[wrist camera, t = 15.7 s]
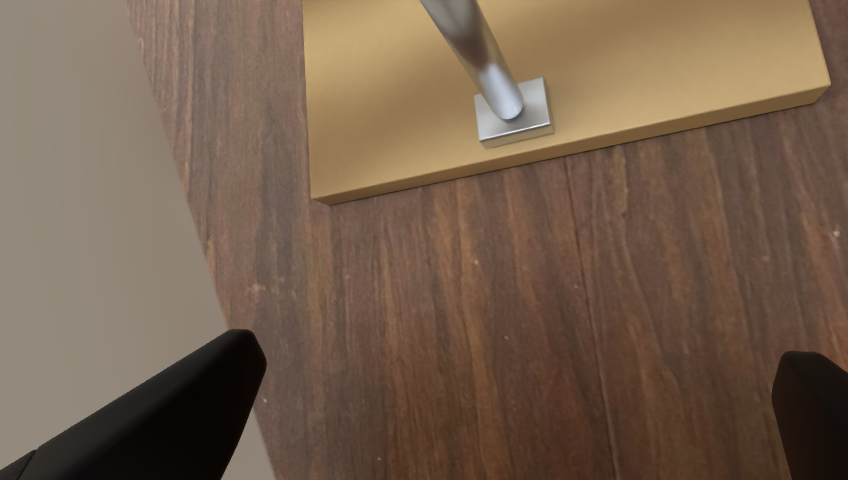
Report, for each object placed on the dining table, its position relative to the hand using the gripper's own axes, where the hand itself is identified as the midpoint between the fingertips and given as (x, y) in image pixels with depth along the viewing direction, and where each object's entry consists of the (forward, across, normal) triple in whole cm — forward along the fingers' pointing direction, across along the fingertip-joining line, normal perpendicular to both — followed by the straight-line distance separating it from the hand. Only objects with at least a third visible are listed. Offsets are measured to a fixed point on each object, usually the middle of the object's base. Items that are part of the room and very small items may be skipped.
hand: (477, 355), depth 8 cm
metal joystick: (+13, 0, 0) cm, 13 cm away
